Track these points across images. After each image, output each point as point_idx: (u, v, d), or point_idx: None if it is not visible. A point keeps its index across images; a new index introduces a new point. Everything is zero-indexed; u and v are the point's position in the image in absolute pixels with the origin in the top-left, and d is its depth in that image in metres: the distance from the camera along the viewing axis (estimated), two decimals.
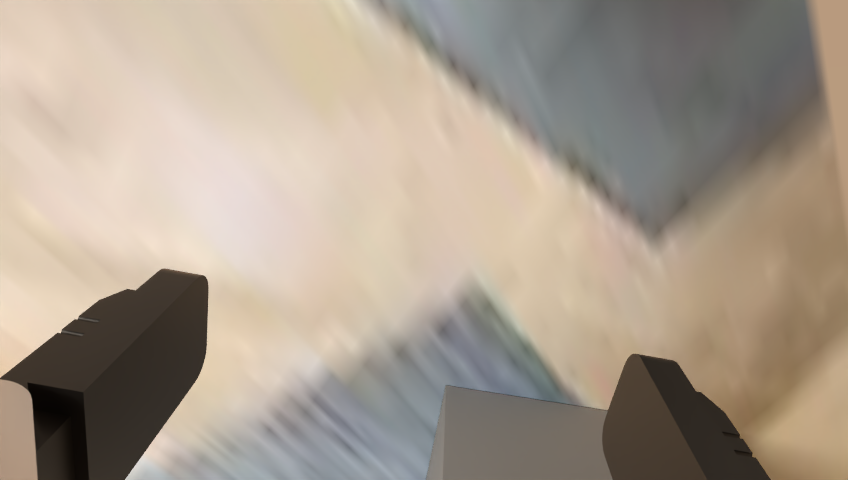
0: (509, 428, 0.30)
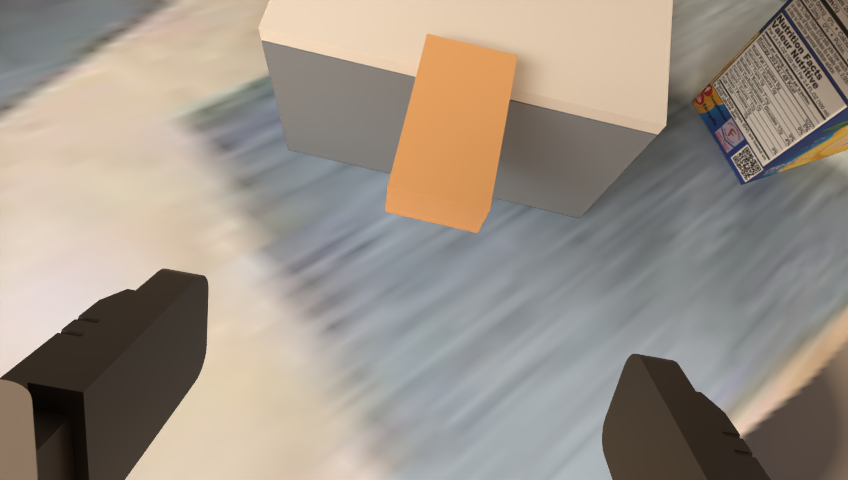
0: None
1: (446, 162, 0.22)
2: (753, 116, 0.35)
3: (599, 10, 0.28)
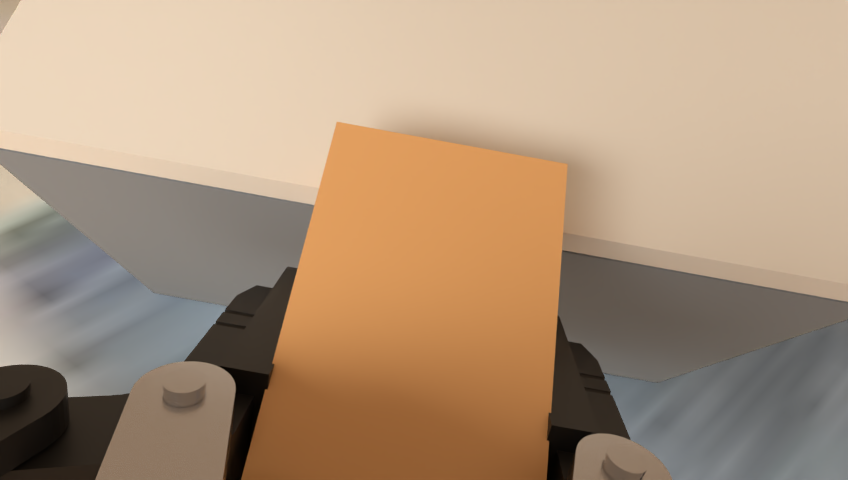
0: None
1: None
2: None
3: (717, 37, 0.13)
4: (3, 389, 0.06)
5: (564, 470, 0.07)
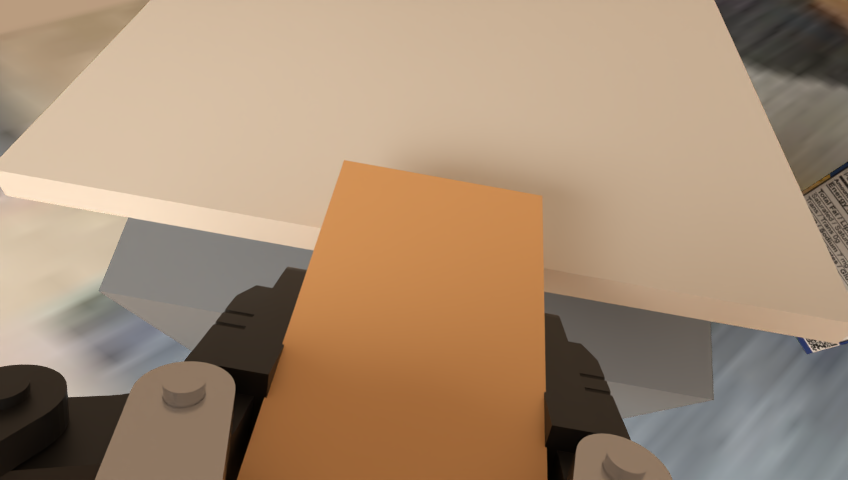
0: None
1: None
2: None
3: (656, 129, 0.16)
4: (2, 388, 0.06)
5: (564, 470, 0.07)
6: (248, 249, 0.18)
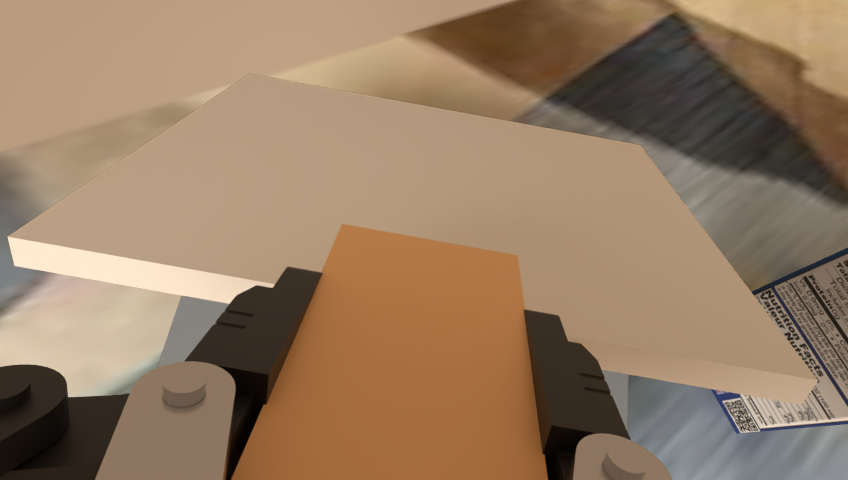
0: None
1: (401, 458, 0.07)
2: None
3: (610, 233, 0.18)
4: (3, 388, 0.06)
5: (564, 470, 0.07)
6: None
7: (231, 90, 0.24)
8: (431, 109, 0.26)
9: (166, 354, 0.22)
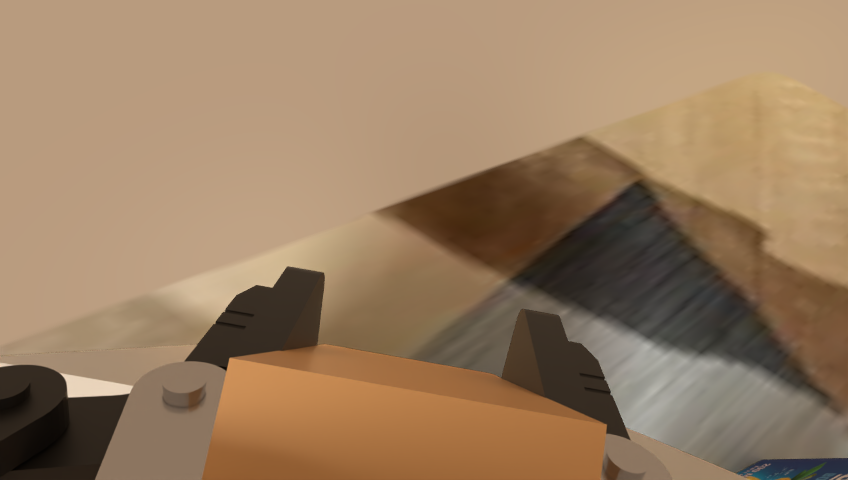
0: None
1: (414, 378, 0.07)
2: None
3: None
4: (2, 389, 0.06)
5: None
6: None
7: (194, 345, 0.25)
8: None
9: None
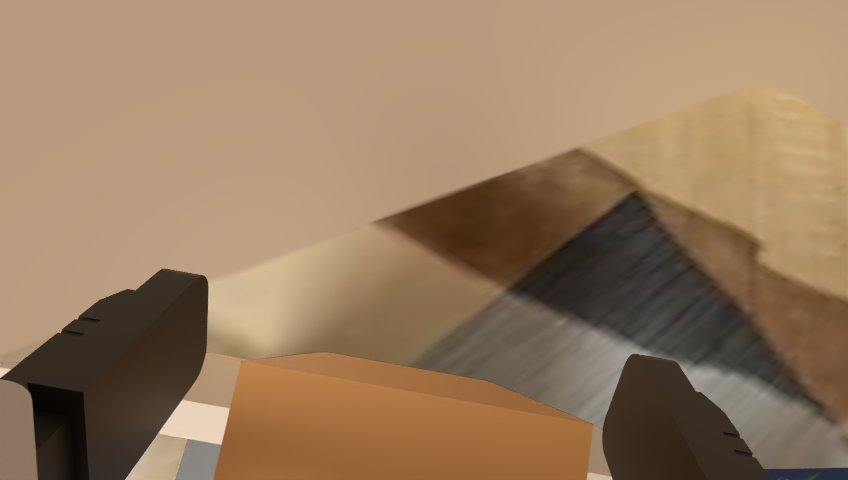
0: None
1: (413, 382, 0.08)
2: None
3: None
4: None
5: None
6: None
7: None
8: None
9: None
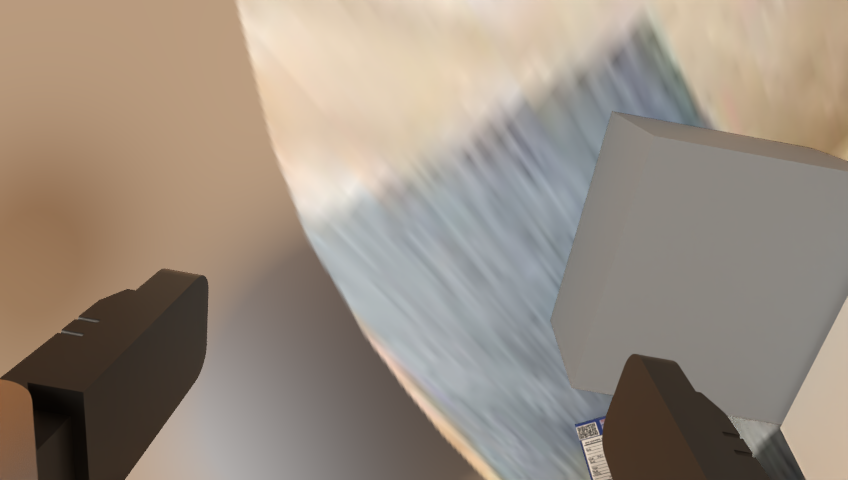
0: (668, 125, 0.41)
1: None
2: None
3: None
4: None
5: None
6: (666, 202, 0.36)
7: None
8: None
9: (699, 147, 0.35)
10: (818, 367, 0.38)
